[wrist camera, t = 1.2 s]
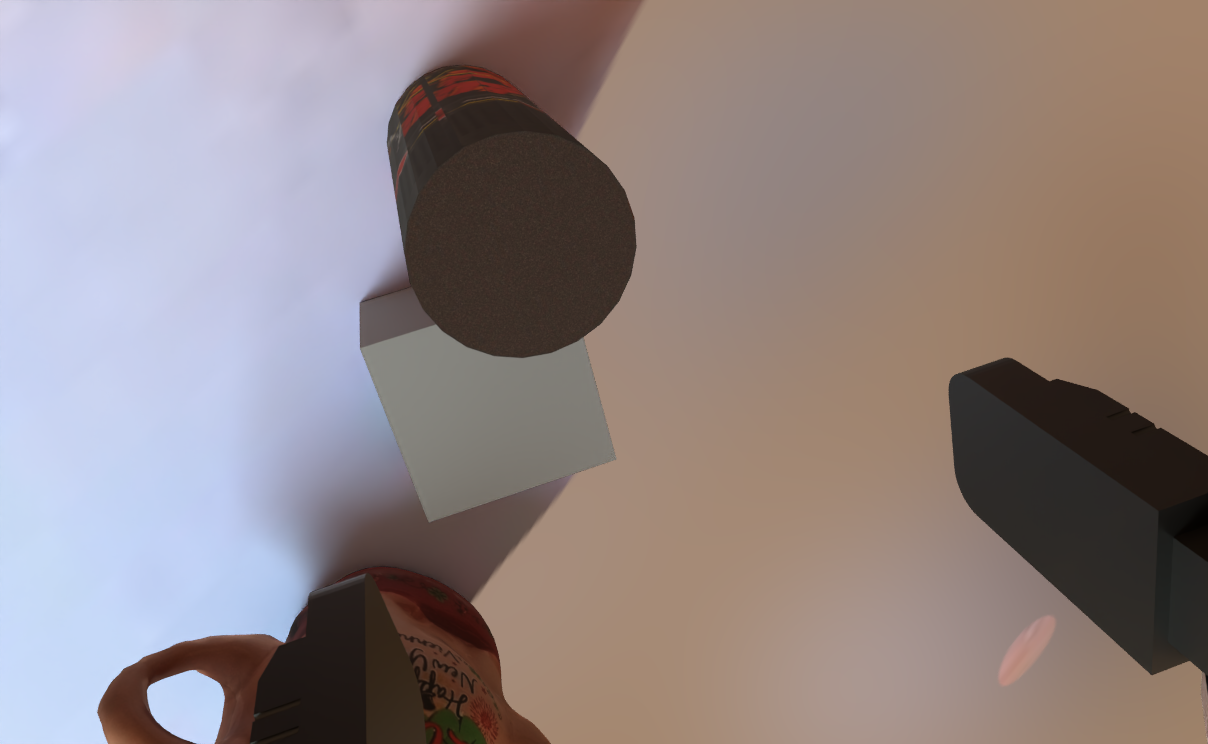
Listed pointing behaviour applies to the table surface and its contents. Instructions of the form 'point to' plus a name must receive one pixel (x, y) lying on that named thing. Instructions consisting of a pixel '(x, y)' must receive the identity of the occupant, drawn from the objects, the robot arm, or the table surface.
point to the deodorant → (504, 216)
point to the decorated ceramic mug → (415, 602)
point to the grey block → (478, 409)
